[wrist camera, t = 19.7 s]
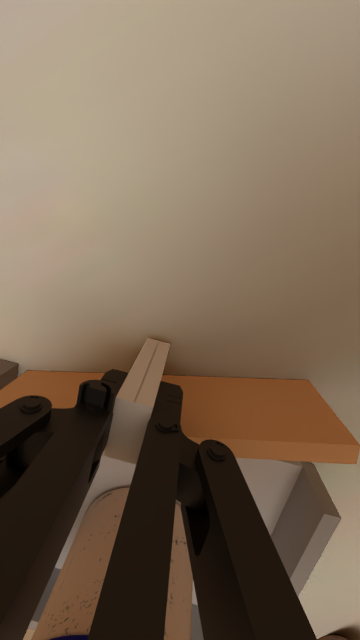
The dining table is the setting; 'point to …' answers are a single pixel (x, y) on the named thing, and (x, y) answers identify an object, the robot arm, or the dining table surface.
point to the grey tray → (270, 497)
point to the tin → (332, 637)
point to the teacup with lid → (90, 569)
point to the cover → (229, 413)
